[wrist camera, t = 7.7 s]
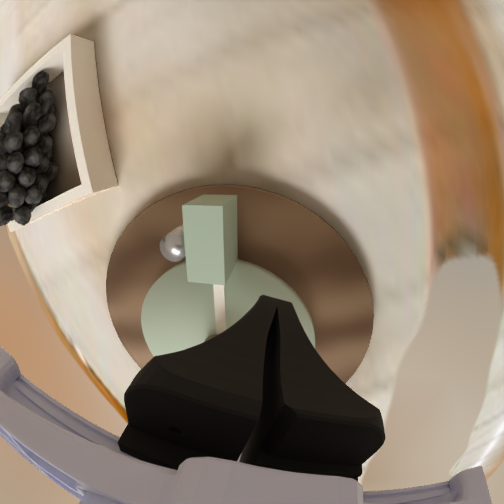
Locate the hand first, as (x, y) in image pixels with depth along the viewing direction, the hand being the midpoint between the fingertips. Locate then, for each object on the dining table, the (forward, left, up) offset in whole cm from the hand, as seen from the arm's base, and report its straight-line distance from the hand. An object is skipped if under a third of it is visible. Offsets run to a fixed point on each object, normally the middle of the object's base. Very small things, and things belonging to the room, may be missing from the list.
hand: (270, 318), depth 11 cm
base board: (-7, +6, -10) cm, 14 cm away
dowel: (+2, +6, -10) cm, 12 cm away
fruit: (+14, +21, -10) cm, 27 cm away
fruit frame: (+15, +20, -10) cm, 27 cm away
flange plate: (-5, +6, -9) cm, 11 cm away
